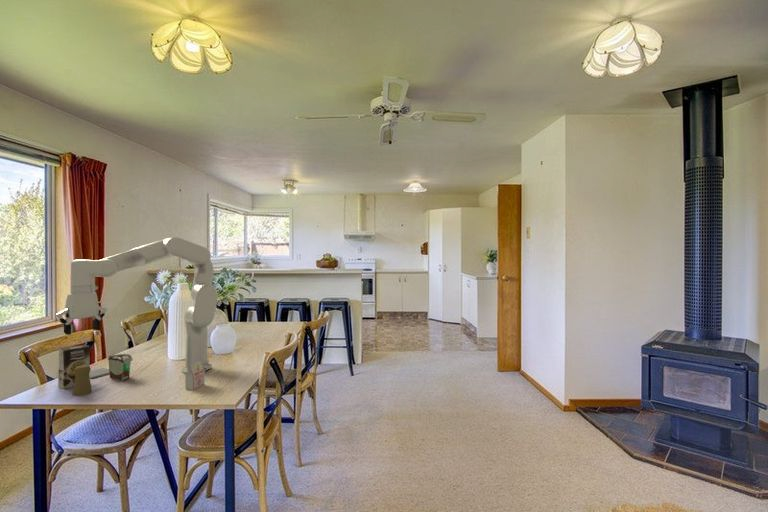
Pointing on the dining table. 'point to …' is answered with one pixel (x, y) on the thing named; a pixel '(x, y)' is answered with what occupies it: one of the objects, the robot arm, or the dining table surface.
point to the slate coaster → (98, 373)
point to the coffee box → (71, 363)
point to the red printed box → (194, 376)
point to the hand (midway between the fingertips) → (82, 332)
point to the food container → (119, 366)
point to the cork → (82, 381)
